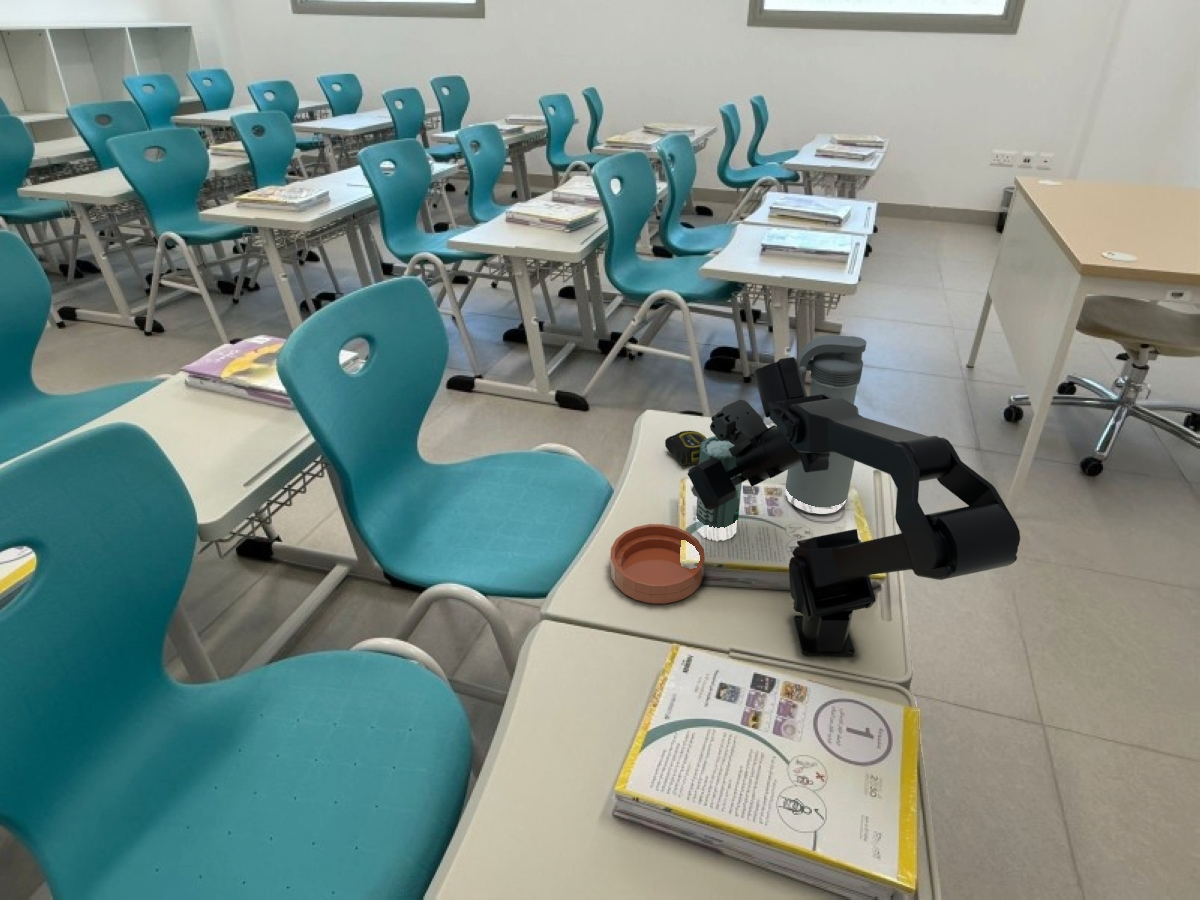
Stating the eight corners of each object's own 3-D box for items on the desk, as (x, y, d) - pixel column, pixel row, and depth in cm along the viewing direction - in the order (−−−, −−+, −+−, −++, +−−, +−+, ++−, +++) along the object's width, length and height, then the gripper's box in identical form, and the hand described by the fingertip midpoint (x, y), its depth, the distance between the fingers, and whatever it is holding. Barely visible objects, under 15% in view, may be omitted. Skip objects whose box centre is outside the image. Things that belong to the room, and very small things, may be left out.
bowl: (706, 605, 98) (708, 586, 96) (609, 604, 98) (609, 585, 96) (699, 543, 109) (700, 524, 107) (612, 542, 109) (611, 523, 108)
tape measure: (663, 451, 131) (663, 433, 129) (696, 443, 133) (697, 425, 131) (680, 470, 125) (680, 452, 123) (715, 462, 127) (716, 444, 125)
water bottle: (779, 512, 115) (801, 351, 100) (783, 478, 123) (804, 324, 108) (846, 521, 112) (879, 357, 97) (846, 486, 120) (876, 329, 105)
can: (744, 533, 110) (752, 450, 102) (712, 546, 108) (718, 463, 100) (720, 512, 115) (726, 432, 107) (688, 524, 113) (692, 443, 105)
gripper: (798, 373, 99) (733, 413, 113) (701, 416, 90) (643, 454, 103) (837, 444, 98) (767, 476, 112) (743, 496, 89) (679, 524, 102)
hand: (715, 480), depth 107 cm, fingers open, 9 cm apart
